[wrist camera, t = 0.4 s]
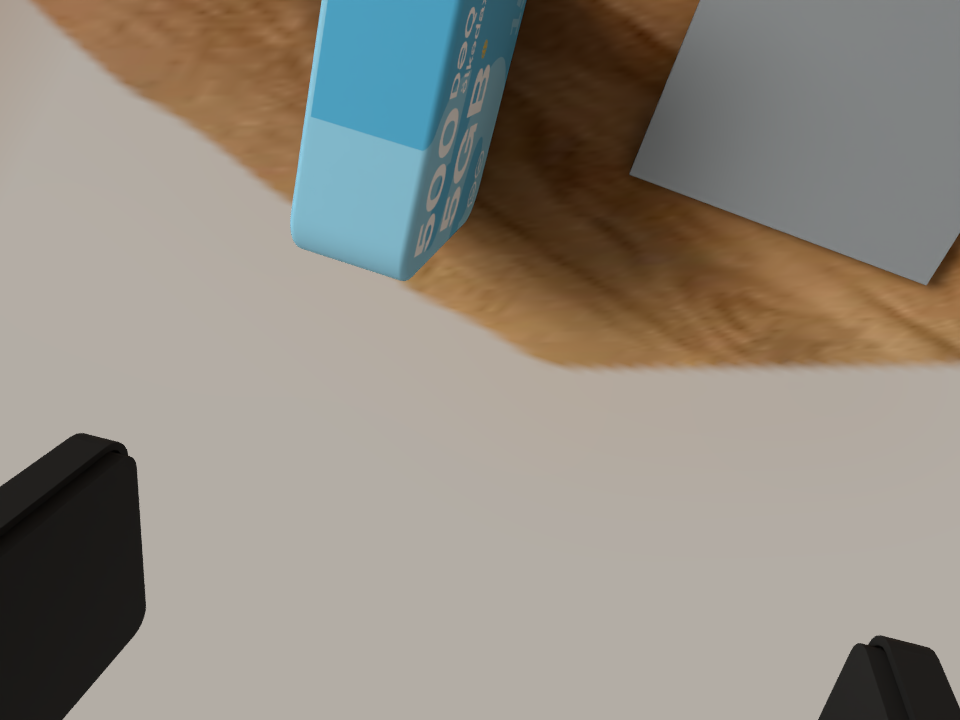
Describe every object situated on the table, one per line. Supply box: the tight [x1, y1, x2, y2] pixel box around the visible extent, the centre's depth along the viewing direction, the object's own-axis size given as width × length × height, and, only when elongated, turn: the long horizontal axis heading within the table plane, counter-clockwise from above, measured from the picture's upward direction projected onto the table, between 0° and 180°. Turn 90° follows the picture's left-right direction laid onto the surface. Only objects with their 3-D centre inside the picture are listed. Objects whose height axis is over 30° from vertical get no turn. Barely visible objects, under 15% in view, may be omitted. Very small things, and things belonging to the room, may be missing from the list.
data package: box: [290, 0, 527, 281], centre depth 30 cm, size 12×4×12 cm, turn 166°
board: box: [629, 0, 960, 285], centre depth 31 cm, size 18×14×1 cm
